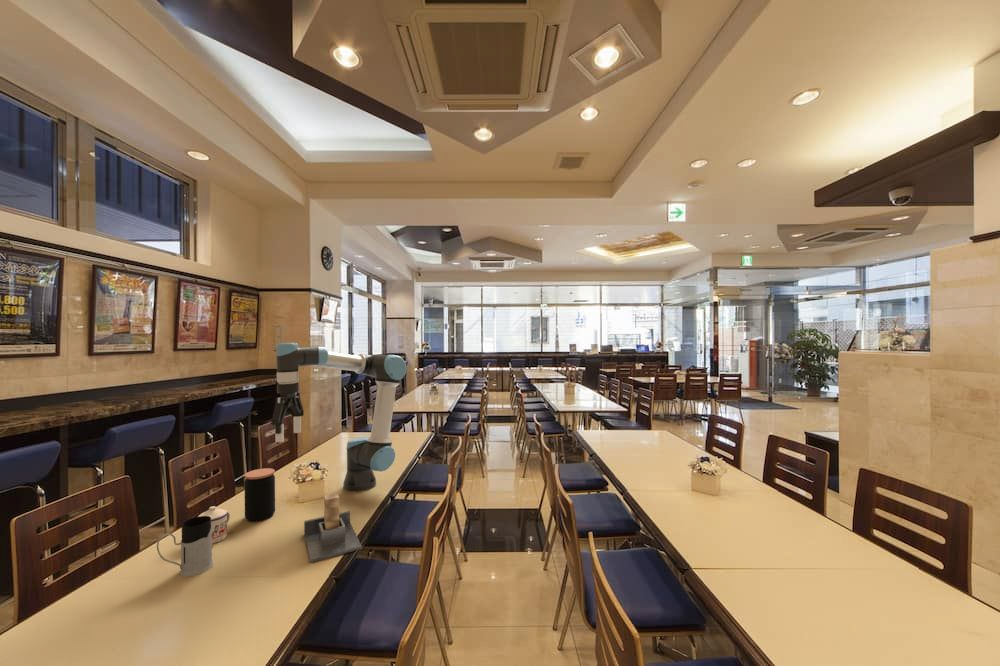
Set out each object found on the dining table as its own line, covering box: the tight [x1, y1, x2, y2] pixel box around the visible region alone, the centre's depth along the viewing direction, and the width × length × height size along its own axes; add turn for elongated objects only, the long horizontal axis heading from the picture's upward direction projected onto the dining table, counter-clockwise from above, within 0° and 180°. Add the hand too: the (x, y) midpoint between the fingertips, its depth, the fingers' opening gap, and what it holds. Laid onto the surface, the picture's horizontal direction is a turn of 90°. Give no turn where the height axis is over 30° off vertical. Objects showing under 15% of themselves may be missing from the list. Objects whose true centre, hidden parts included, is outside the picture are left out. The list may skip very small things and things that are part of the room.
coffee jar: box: [244, 467, 276, 523], centre depth 165 cm, size 11×11×18 cm
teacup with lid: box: [197, 505, 230, 545], centre depth 149 cm, size 12×9×12 cm
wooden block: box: [323, 493, 340, 530], centre depth 145 cm, size 4×4×15 cm
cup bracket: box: [303, 510, 363, 564], centre depth 145 cm, size 16×22×6 cm
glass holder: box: [156, 516, 215, 578], centre depth 127 cm, size 9×14×15 cm, turn 141°
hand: (288, 437), depth 157 cm, fingers open, 13 cm apart
